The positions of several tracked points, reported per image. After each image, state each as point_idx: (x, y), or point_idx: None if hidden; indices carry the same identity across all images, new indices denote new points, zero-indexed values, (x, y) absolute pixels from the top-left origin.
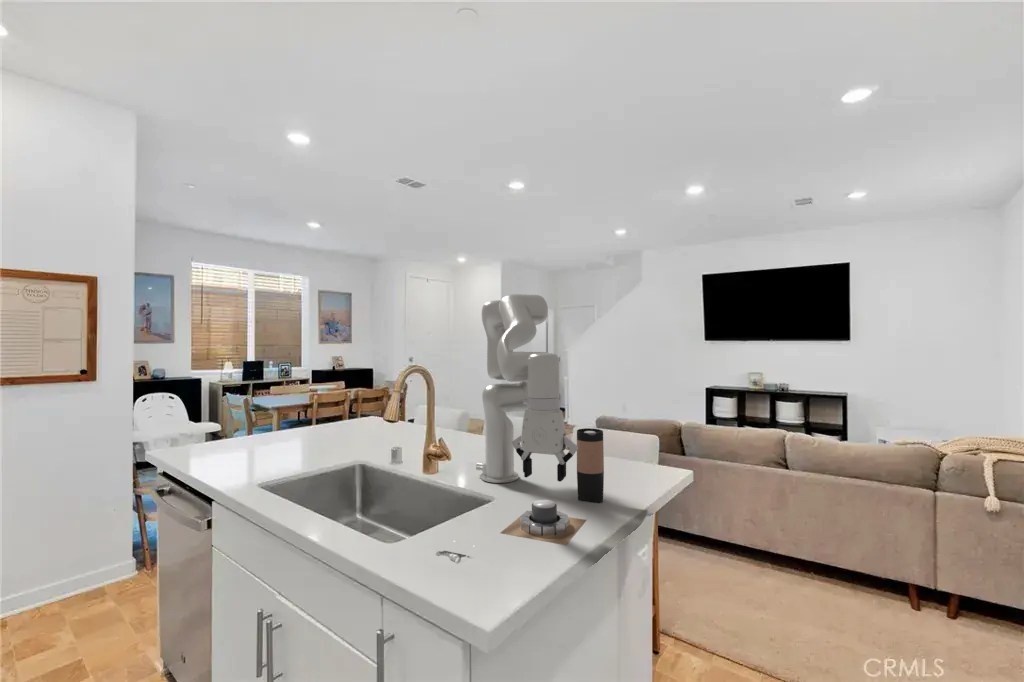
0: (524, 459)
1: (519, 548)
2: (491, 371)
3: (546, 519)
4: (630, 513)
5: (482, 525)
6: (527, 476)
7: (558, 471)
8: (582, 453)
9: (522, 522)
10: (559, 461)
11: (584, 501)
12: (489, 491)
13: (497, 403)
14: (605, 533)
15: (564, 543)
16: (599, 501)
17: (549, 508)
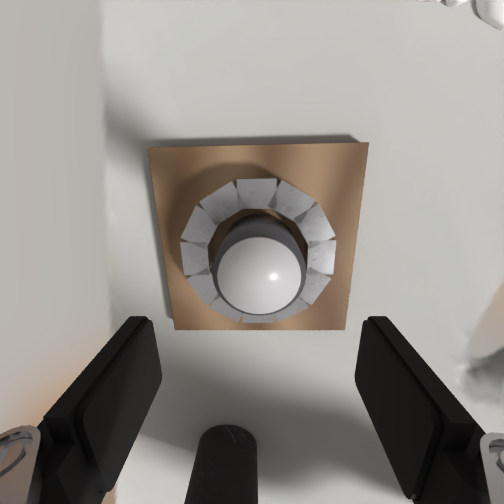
0: (488, 447)
1: (279, 99)
2: None
3: (236, 227)
4: None
5: (445, 210)
6: (364, 323)
7: (105, 361)
8: None
9: (312, 198)
10: (25, 461)
11: (232, 431)
12: (491, 424)
13: None
14: (117, 292)
15: (155, 155)
16: (201, 440)
17: (226, 250)
